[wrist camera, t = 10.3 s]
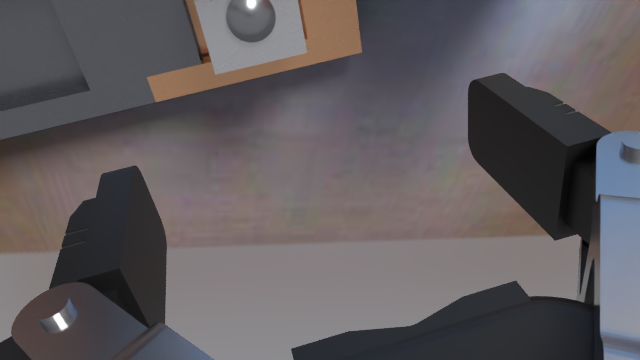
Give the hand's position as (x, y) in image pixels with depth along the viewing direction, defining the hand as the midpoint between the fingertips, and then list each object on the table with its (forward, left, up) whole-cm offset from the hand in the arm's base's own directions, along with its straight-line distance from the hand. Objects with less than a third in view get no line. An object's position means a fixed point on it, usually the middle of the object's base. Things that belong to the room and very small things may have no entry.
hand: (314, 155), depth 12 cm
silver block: (0, 0, -19) cm, 19 cm away
